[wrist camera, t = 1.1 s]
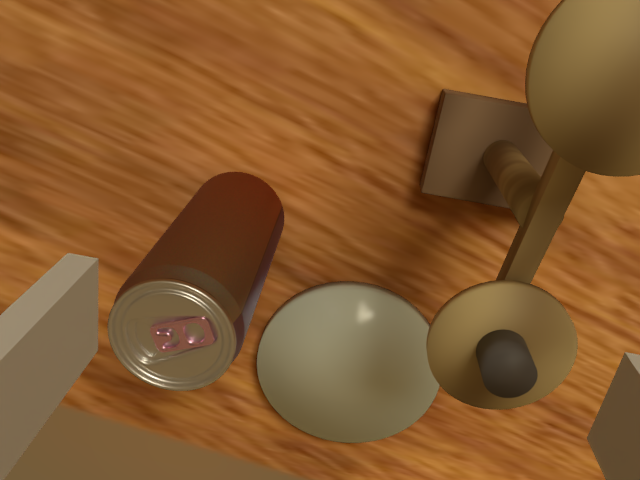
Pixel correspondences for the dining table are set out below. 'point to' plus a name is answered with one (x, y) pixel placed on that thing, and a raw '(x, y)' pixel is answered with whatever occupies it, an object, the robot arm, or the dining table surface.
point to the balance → (532, 195)
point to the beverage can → (198, 285)
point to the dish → (347, 362)
